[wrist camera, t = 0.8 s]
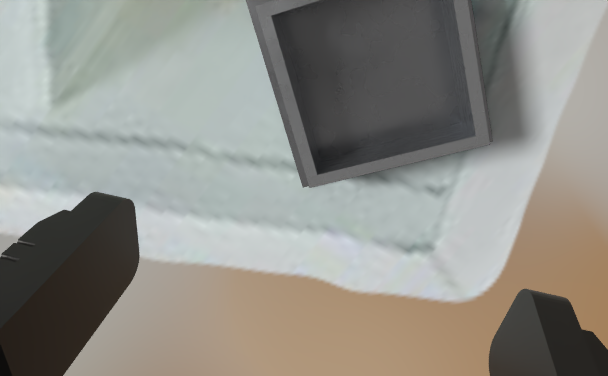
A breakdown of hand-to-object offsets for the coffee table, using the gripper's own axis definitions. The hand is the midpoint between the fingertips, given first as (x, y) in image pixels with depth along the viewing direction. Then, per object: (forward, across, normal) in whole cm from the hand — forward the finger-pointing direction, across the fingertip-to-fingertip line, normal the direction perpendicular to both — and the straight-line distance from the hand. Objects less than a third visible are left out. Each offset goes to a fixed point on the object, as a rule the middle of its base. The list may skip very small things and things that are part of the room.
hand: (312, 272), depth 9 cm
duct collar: (+27, 0, +4) cm, 27 cm away
